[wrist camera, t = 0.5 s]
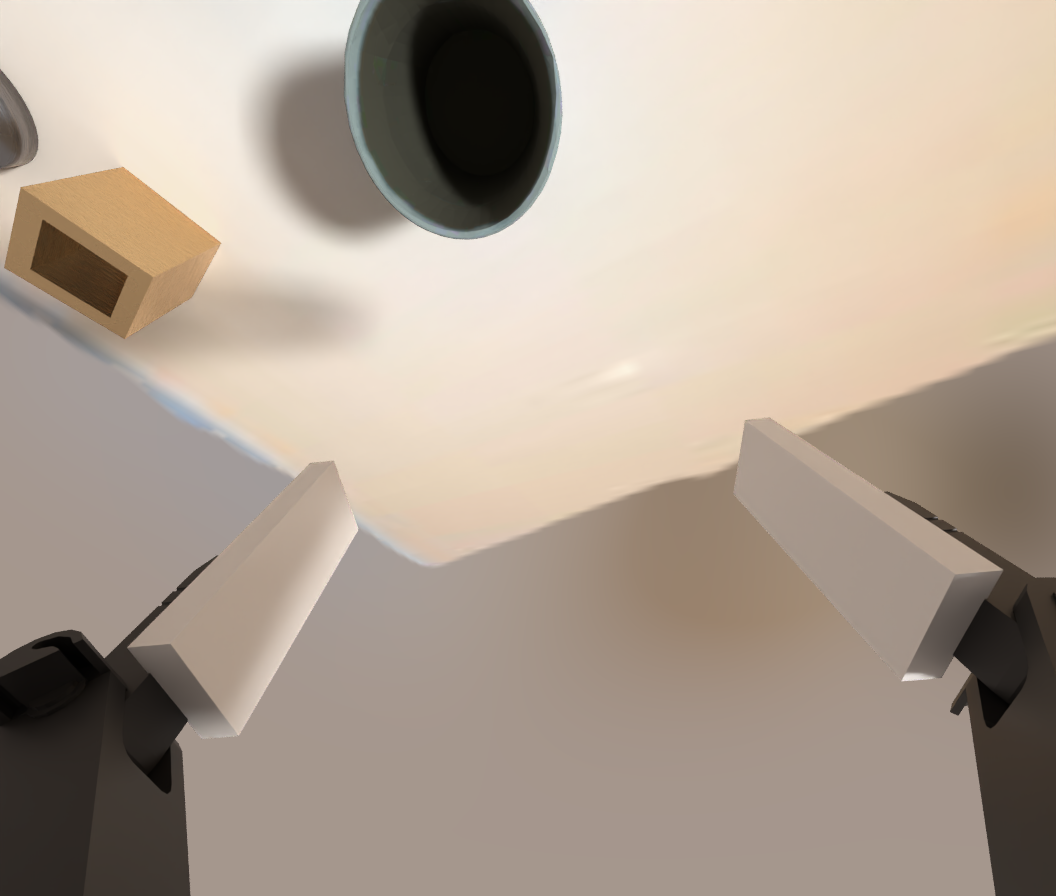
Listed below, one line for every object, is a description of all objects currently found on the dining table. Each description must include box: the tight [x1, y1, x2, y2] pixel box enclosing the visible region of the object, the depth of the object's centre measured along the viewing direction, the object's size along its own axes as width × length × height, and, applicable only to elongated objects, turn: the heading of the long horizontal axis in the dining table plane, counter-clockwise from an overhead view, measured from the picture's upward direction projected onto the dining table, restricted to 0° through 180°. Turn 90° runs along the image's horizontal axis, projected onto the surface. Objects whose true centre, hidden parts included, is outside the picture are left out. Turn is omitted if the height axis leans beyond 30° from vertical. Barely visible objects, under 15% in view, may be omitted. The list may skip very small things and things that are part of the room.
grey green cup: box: [344, 0, 562, 239], centre depth 23 cm, size 10×10×12 cm
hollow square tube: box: [4, 167, 221, 339], centre depth 30 cm, size 7×7×8 cm
